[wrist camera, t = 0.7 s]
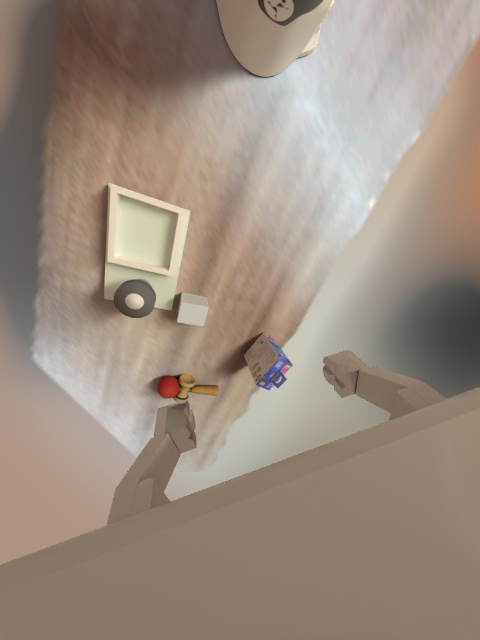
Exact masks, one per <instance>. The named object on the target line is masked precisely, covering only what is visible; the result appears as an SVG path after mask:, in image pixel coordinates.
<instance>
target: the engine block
mask: <svg viewBox="0 0 480 640" xmlns="http://www.w3.org/2000/svg"><path fill="white" fill-rule="evenodd" d="M208 308H209V306H208V302H207V298H206V297H203V296H198V295H193V294H188V293H183V292H182V293H181V298H180V303H179V308H178V316H177V322H179V323H186V324H192V325H198V326H204V323H205V319H206V315H207V312H208Z"/></svg>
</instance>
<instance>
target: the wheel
mask: <svg viewBox="0 0 480 640" xmlns="http://www.w3.org/2000/svg"><path fill="white" fill-rule="evenodd" d="M155 302H156V294H155V291H154V290H153V288H152V287H151V286H150V285H149V284H147V283H146V282H144V281H141V280H128V281H125V282H124V283H122V284H121V285H120V287H119V288H118V289H117V290H116V292H115V294H114V303H115V306H116V308H117V309H118V310H119V311H120V312H121V313H122V314H124V315H126V316H129V317H132V318H141V317H144V316H147V315H148V314H150V313H151V312H152V310H153V308H154V305H155Z"/></svg>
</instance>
